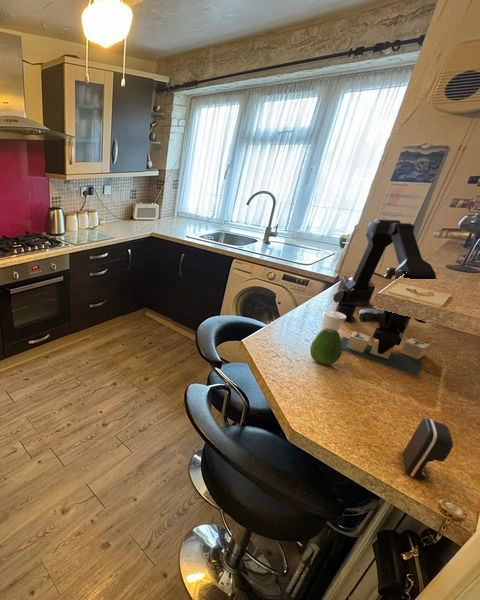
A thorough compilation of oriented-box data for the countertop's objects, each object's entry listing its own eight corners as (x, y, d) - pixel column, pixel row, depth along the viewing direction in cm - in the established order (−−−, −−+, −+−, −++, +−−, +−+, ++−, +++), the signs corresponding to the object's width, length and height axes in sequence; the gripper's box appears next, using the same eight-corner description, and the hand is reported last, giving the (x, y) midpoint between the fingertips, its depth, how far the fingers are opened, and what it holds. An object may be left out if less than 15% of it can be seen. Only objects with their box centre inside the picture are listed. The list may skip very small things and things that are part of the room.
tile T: (405, 349, 108) (411, 337, 106) (423, 356, 104) (429, 344, 102) (399, 353, 106) (405, 341, 104) (416, 360, 102) (423, 347, 100)
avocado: (303, 353, 106) (314, 321, 101) (331, 358, 103) (344, 326, 98) (309, 367, 99) (321, 334, 94) (340, 372, 96) (354, 339, 91)
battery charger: (430, 486, 64) (459, 445, 59) (404, 475, 66) (430, 435, 61) (425, 461, 69) (451, 422, 64) (401, 452, 71) (424, 413, 66)
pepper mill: (338, 302, 141) (352, 263, 133) (335, 294, 150) (348, 257, 142) (383, 310, 134) (401, 270, 126) (378, 301, 142) (394, 262, 135)
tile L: (349, 342, 111) (354, 331, 109) (365, 347, 108) (370, 336, 106) (346, 347, 108) (350, 335, 106) (362, 353, 105) (368, 340, 103)
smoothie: (330, 334, 117) (343, 299, 111) (341, 343, 111) (355, 307, 105) (311, 333, 117) (323, 298, 112) (321, 342, 112) (335, 306, 106)
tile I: (372, 347, 107) (377, 335, 105) (390, 353, 103) (396, 341, 102) (369, 353, 104) (375, 340, 102) (387, 359, 101) (393, 346, 99)
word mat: (343, 337, 115) (343, 336, 114) (420, 362, 101) (421, 361, 101) (335, 349, 108) (335, 348, 108) (416, 377, 94) (417, 376, 94)
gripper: (372, 291, 108) (356, 331, 114) (361, 307, 97) (343, 351, 103) (418, 301, 100) (398, 343, 107) (411, 321, 89) (388, 366, 96)
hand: (381, 350), depth 103 cm, fingers closed on tile I, 4 cm apart
